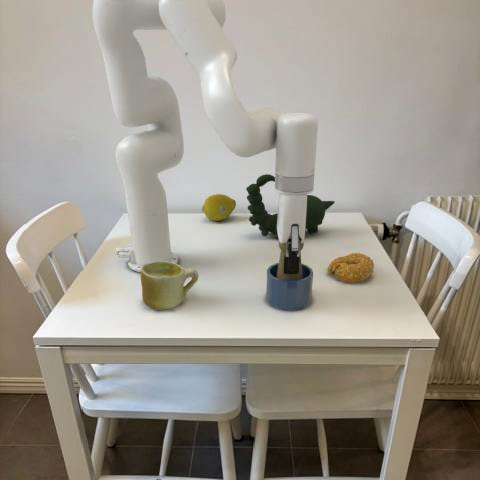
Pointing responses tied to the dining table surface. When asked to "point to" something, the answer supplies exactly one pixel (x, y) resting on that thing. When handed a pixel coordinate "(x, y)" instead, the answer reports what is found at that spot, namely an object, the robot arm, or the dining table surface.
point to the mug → (165, 284)
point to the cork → (281, 264)
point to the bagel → (352, 267)
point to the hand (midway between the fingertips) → (289, 267)
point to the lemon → (218, 207)
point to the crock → (289, 290)
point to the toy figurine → (269, 221)
